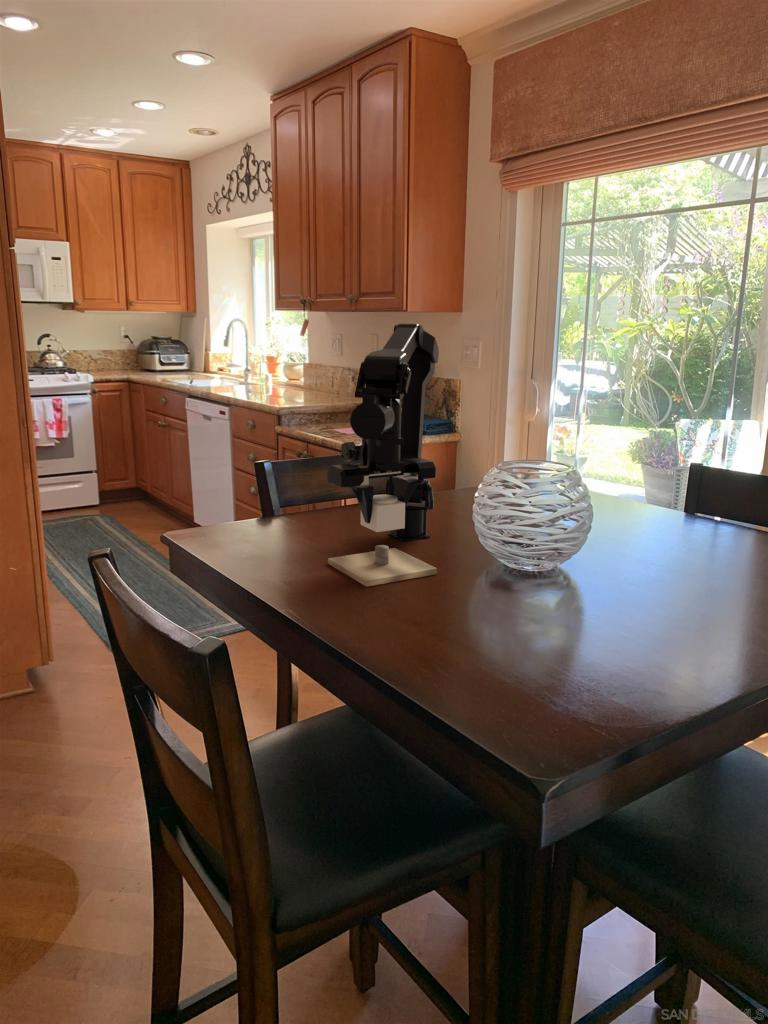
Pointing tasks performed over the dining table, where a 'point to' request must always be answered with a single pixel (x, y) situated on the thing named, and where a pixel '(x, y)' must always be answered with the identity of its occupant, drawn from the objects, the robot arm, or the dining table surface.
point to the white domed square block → (386, 514)
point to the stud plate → (381, 566)
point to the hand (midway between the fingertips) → (382, 520)
